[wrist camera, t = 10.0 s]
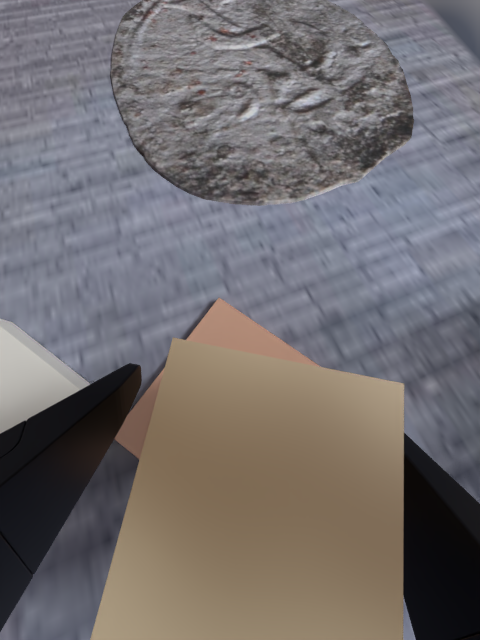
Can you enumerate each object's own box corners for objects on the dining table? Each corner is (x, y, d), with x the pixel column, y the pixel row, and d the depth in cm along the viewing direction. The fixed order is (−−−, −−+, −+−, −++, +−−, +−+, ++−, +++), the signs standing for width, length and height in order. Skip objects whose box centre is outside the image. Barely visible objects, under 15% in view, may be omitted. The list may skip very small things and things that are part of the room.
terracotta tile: (261, 552, 15) (262, 558, 14) (115, 434, 16) (111, 436, 16) (348, 388, 18) (352, 388, 17) (219, 300, 19) (218, 297, 19)
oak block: (264, 453, 16) (403, 709, 3) (197, 440, 16) (88, 645, 3) (274, 384, 17) (403, 383, 5) (212, 372, 17) (173, 337, 5)
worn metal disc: (276, -44, 33) (276, -49, 33) (468, 113, 27) (471, 109, 26) (45, 33, 27) (43, 28, 26) (226, 265, 20) (226, 263, 20)
